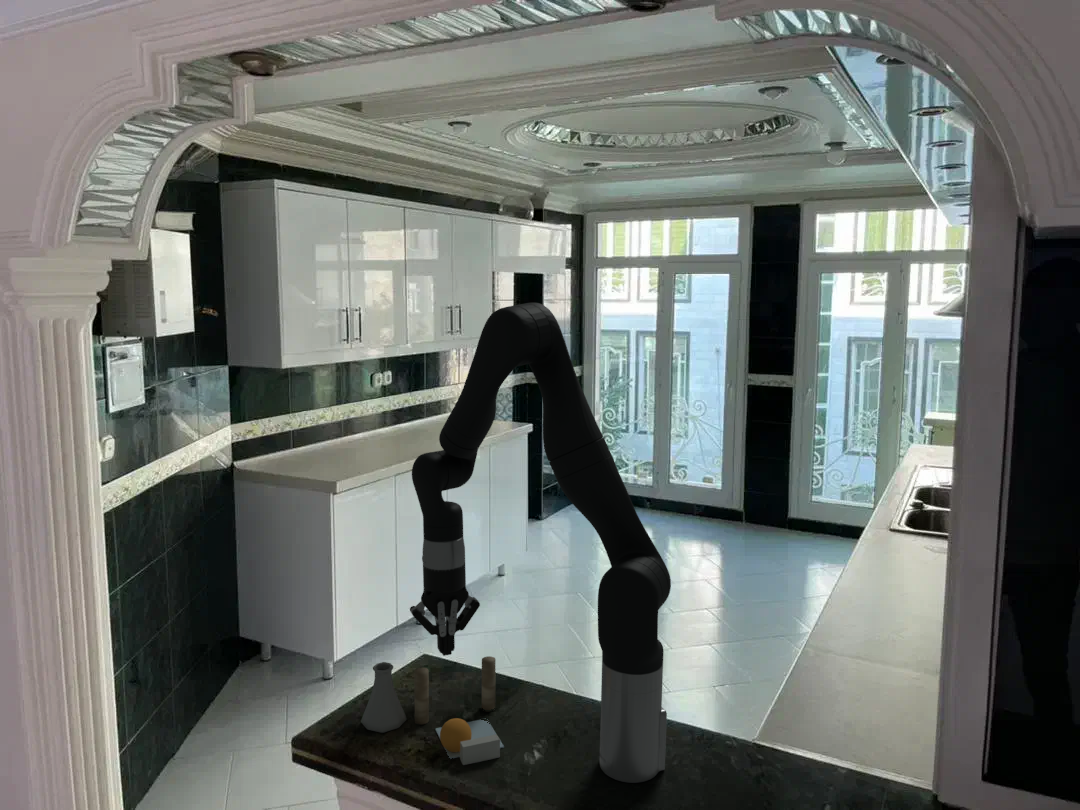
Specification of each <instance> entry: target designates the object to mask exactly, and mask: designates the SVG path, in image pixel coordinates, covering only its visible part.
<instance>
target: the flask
mask: <svg viewBox="0 0 1080 810" xmlns="http://www.w3.org/2000/svg"><path fill="white" fill-rule="evenodd" d="M393 669H394V665H393V664H392V663H391V662H386V661H382V662H378V663H376V664H375V665H373V666H372V670H373V671H374V682H373V687H372V690H371V693H370V697H369V699H368V702H367V705H366V707H365V710H364V712H363V714H362V718H361V721H360V722H361V724H362V725H363V727H365V729H366V730H368V731H373V732H378V733H381V734H383V733H386V732H389V731H392V730H396V729H399V728H400V727H401V726H402V725H403V724H404V723H405V722H406V721H407V720H408V718H407V716H406V713H405V711H404V709H403V707H402V705H401V702H400V699H399V697H398V694H397V692H396V689H395V685H394V681H393V676H392V675H393V674H392V671H393Z"/></svg>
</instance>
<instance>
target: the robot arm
mask: <svg viewBox="0 0 1080 810" xmlns="http://www.w3.org/2000/svg"><path fill="white" fill-rule="evenodd" d="M566 343H567V342H566V341H565V337H564V335H563V332H562V329H561V328H560V324H559V322H558V320H557V318H556V317H555V314H553V313H552V311H551V309H549V307H547V306H545V305H544V304H543V303H539V302H526V303H519V304H516V305H515V304H514V305H509V306H505V307H501V308H499V309H497V310H495V311H493V312H492V313H491V314H490V316H488V318H487V319H486V321H485V322H484V325H483V328H482V330H481V333H480V336H479V338H478V342H477V346H476V348H475V351H474V355H473V357H472V361H471V364H470V366H469V370H468V373H467V376H466V379H465V382H464V385H463V387H462V390H461V392H460V394H459V396H458V399H457V400H456V403H455V405H454V406H453V408H452V409H451V412H450V413H449V415H448V417H447V418H446V421H445V423H444V424H443V426H442V427H441V430H440V433H439V439H438V441H439V444H440V447H441V448H442V450H437V451H430V452H429V451H428V452H425V453H422V454H420V455H418V456H417V457H416V458H415V460H414V462H413V465H412V468H411V481H412V484H413V487H414V490H415V494H416V496H417V500H418V503H419V506H420V510H421V513H422V526H423V529H422V530H423V531H422V532H423V543H422V555H421V561H422V575H423V581H422V583H423V590H422V593H421V595H420V596H421V597H420V601H419V602H418V603H417V604H416V605H411V606H410V607H409V611H410V613H411V615H412V616H413V618H414V619H415V620H416V621H417V622H418V623H419V625H421V626H422V627H423V628H424V630H426V631H427V632H428V634H430V635H432V636H434V635H435V636H437V638H436V640H437V644H436V645H437V649H438V651H439V653H440V654H441V655H442V656H443V657H444V656H445V657H446V656H449V655H450V656H451V655H452V652H454V651H455V648H456V647H455V645H456V644H455V635H456V633H457V632H458V631H464V630H465V628H466V627H467V625H468V624H469V623H470V621H471V620H472V618H473V617H474V615H475V614H476V612H477V610H479V607H481V603H480V601H479V600H478V599H477V598H476V597H475V596H472V595H469V591H468V590H467V583H466V582H467V581H466V578H467V577H466V546H465V545H466V544H465V541H464V540H465V539H464V515H463V514H464V513H463V508H462V507H461V505H460V504H459V503H457V502H454V501H446V500H444V497H443V493H442V492H444V491H448V490H454V489H458V488H460V487H462V486H464V485H465V484H466V483H468V482H469V480H470V479H471V478H472V475H473V473H474V469H475V464H476V460H477V457H478V450H479V448H480V447H481V445H482V444H483V442H484V440H485V438H486V436H487V435H488V433H489V431H490V429H491V427H492V426H493V423H494V421H495V417H496V414H497V413H496V411H497V396H498V392H499V390H500V388H501V386H502V385H503V383H504V382H505V381H506V379H507V378H508V377H509V376H510V374H511V373H512V372H513V371H514V370H515V369H516V368H517V367H521V366H525V365H528V366H529V368H530V370H531V372H532V373H533V376H534V378H535V382H536V383H537V386H538V388H539V391H540V392H539V393H540V394H541V395H540V396H541V400H542V440H543V441H542V444H543V449H544V452H545V455H546V459H547V460H548V464H549V466H550V469H551V470H552V473H553V475H554V476H555V479H556V481H557V484H558V485H559V487H560V488H561V491H562V492H563V494H564V496H566V498H567V499H568V501H570V503H571V504H572V505H573V506H574V507H575V508H576V509H577V510H578V512H579V513H581V514H582V515H583V517H584V518H585V519H586V520H587V521H588V523H590V525H591V526H592V527H593V529H594V530H595V532H596V533H597V534H598V536H599V538H600V541H601V543H602V545H603V547H604V549H605V553H606V555H607V558H608V560H609V563H610V566H611V567H610V568H609V569H608V570H607V571H606V572H604V574H603V576H602V577H601V580H600V582H599V586H598V591H597V639H598V643H599V644H598V645H599V646H600V648H601V686H600V687H601V692H600V693H601V694H600V695H601V696H600V697H601V699H600V729H599V730H600V732H599V733H600V734H599V735H600V737H599V752H598V753H599V767H600V769H601V772H603V773H604V774H605V776H608V777H610V778H612V779H614V780H616V781H619V782H622V783H628V784H629V783H633V784H637V783H643V782H647V781H649V780H651V779H653V778H655V776H657V774H658V773H659V772H661V771H664V770H665V769H666V768H665V767H666V750H667V749H666V746H667V717H668V716H667V715H668V713H667V710H666V709H665V708H663V707H662V706H663V704H662V701H663V679H664V678H663V677H664V676H663V675H664V646H663V643H662V642H661V641H660V640H659V639H658V637H659V636H658V635H659V632H658V628H659V627H658V626H659V622H658V621H659V609H661V607H662V606H663V605H664V604H665V602H667V599H668V598H669V595H670V593H671V590H672V589H671V588H672V587H671V585H672V582H671V581H672V580H671V574H670V572H669V570H668V567H667V565H666V563H665V561H664V560H663V558H662V556H661V554H660V553H659V551H658V549H657V547H656V545H655V544H654V542H653V540H652V538H651V537H650V535H649V533H648V532H647V530H646V529H645V526H644V524H643V523H642V521H641V519H640V517H639V515H638V513H637V511H636V509H635V506H634V504H633V501H632V499H631V497H630V495H629V493H628V490H627V487H626V485H625V483H624V481H623V479H622V476H621V474H620V472H619V469H618V467H617V465H616V462H615V460H614V457H613V456H612V452H611V450H610V448H609V447H608V446H609V445H608V444H607V442H606V440H605V437H604V435H603V434H602V431H601V429H600V427H599V425H598V423H597V421H596V419H595V417H594V415H593V411H592V410H591V407H590V404H589V402H588V400H587V398H586V394H585V393H584V391H583V388H582V385H581V383H580V381H579V379H578V376H577V373H576V370H575V367H574V365H573V362H572V361H573V360H572V358H571V355H570V353H569V350H568V347H567V344H566ZM463 606H464V607H463ZM425 608H426V609H427V610H428V612H429V613H430V614H431V615H432V616H433V617H434V620H435V621H434V622H435V624H433V623H431V621H430V620H429V619H428V618H427V617H426V616H425V615H426V611H425ZM462 608H463V609H462ZM461 609H462V610H461ZM460 611H461V612H460ZM459 612H460V613H459ZM458 613H459V614H458Z"/></svg>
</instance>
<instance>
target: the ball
mask: <svg viewBox="0 0 1080 810" xmlns="http://www.w3.org/2000/svg"><path fill="white" fill-rule="evenodd" d="M467 722H468V721H466V720H465V719H462V718H460V717H459V718H457V717H455V718H451V719H448V720H447V721H446V722H444V724H443V725H442V729H441V732H440V738H439V740H440V744H441V745H442V747H443V749H445V748H446V749H447V750H448V751H451V752H460V742H461V741H466V740H471V736H472V733H471V728H470V726H469V725H468V723H467Z"/></svg>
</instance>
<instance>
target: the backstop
mask: <svg viewBox="0 0 1080 810" xmlns="http://www.w3.org/2000/svg"><path fill="white" fill-rule="evenodd" d="M500 741H501V739H500V737H499V736H498V734H497V733H496V734H495V735H491V736H486V737H481V738H476V739H471V740H466V741H461V742H460V757H459V760H460V762H461V764H462V765H463V766H466V765H471V764H476V763H480V762H485V761H488V760H493V759H498V758H500V757H501V748H500Z"/></svg>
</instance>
